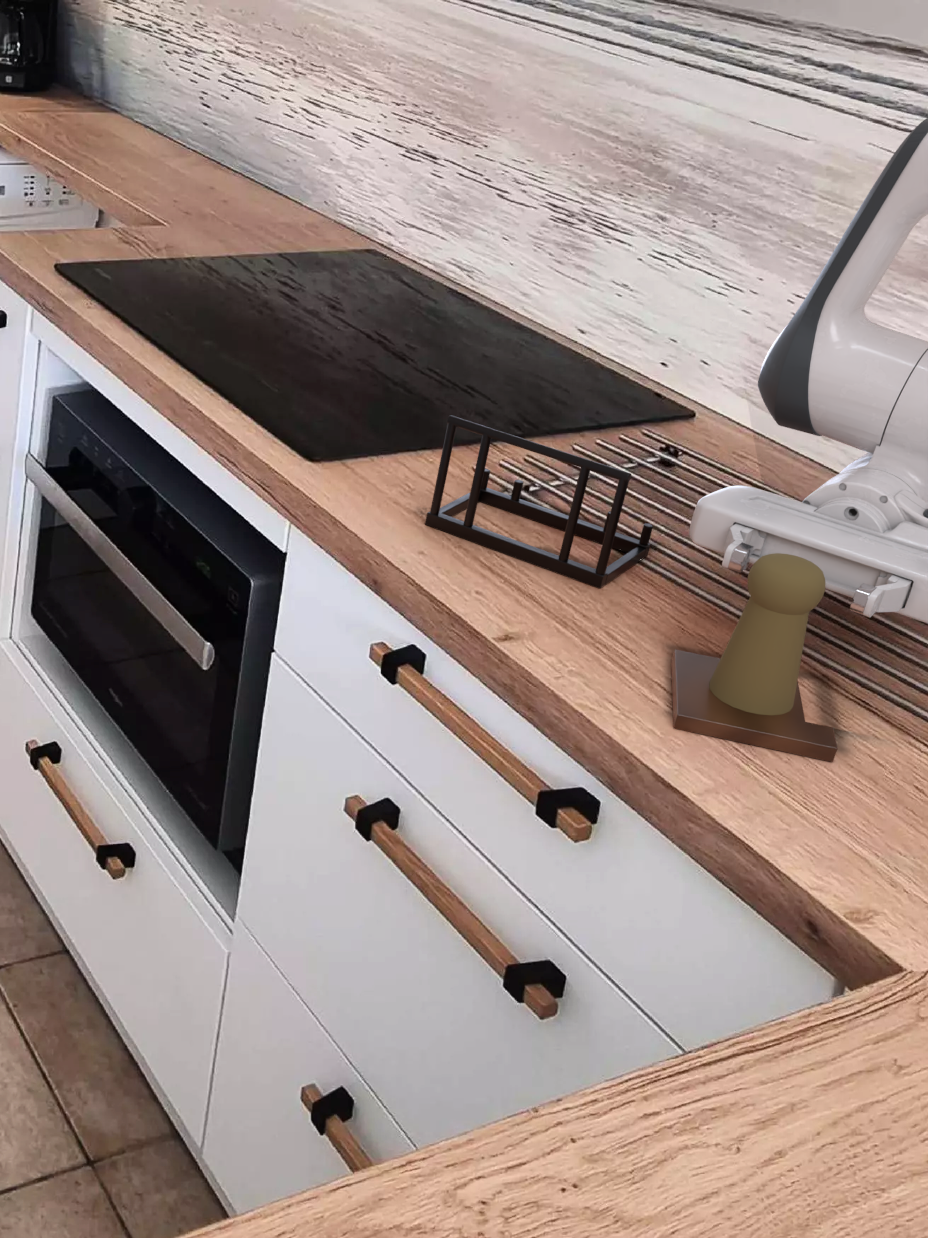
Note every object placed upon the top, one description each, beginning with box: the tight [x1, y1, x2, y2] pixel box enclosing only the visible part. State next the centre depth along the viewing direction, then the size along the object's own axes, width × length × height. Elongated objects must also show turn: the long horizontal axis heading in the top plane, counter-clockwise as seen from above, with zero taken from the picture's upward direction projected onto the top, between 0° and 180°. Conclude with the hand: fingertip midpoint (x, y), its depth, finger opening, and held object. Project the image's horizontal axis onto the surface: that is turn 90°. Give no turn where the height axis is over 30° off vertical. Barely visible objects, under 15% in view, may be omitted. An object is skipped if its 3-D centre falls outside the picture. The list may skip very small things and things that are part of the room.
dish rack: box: [424, 415, 654, 589], centre depth 147 cm, size 10×17×10 cm, turn 51°
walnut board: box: [670, 649, 838, 763], centre depth 124 cm, size 11×11×1 cm
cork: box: [709, 553, 826, 715], centre depth 122 cm, size 6×6×11 cm
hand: (796, 582), depth 121 cm, fingers open, 8 cm apart
